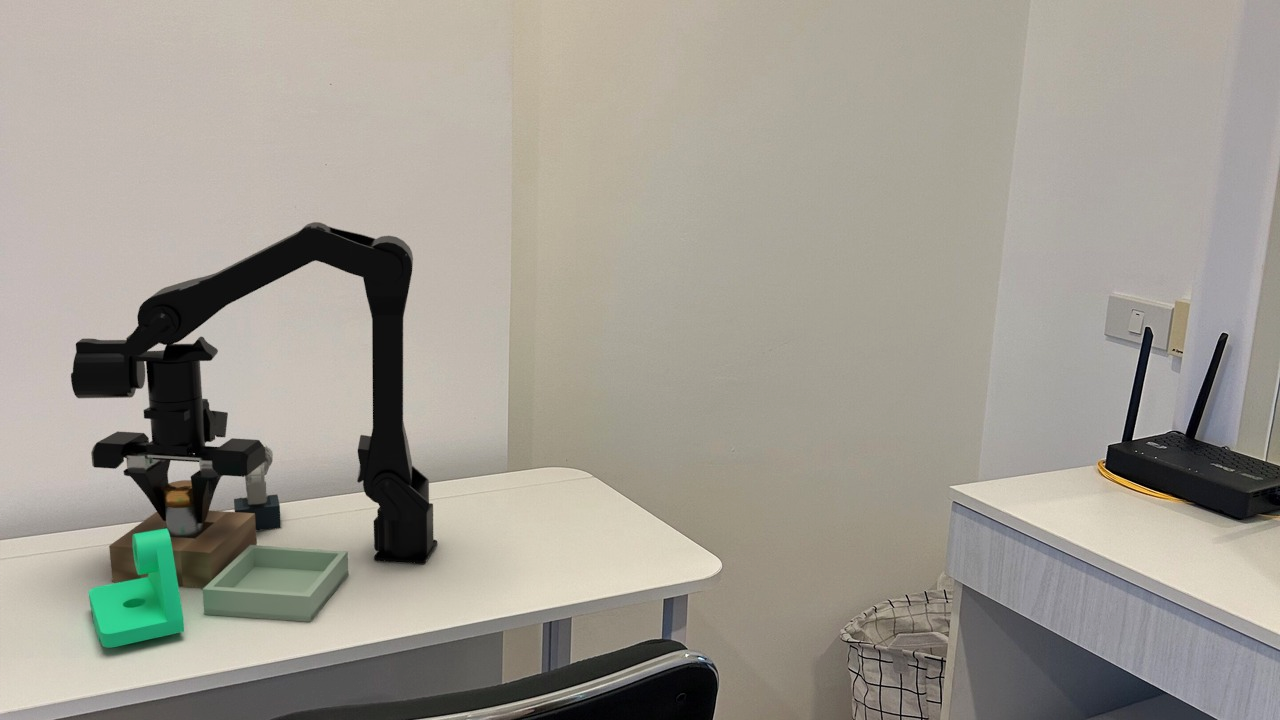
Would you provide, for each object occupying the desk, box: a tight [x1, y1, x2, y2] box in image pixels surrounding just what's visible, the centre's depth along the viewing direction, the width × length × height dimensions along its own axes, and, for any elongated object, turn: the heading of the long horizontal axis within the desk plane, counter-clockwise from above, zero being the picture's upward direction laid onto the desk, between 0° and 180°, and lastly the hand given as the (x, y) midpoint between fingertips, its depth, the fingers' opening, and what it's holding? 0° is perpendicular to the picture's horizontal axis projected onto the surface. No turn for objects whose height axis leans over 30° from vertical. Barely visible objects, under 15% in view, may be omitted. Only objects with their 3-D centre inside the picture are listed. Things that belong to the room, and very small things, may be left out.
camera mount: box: [88, 528, 185, 648], centre depth 113 cm, size 12×8×10 cm, turn 33°
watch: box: [233, 443, 282, 531], centre depth 139 cm, size 6×8×11 cm
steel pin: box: [164, 479, 203, 539], centre depth 127 cm, size 4×4×10 cm
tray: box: [202, 544, 349, 623], centre depth 121 cm, size 12×12×3 cm
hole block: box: [108, 509, 258, 589], centre depth 128 cm, size 12×12×4 cm
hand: (184, 521), depth 127 cm, fingers closed on steel pin, 4 cm apart
